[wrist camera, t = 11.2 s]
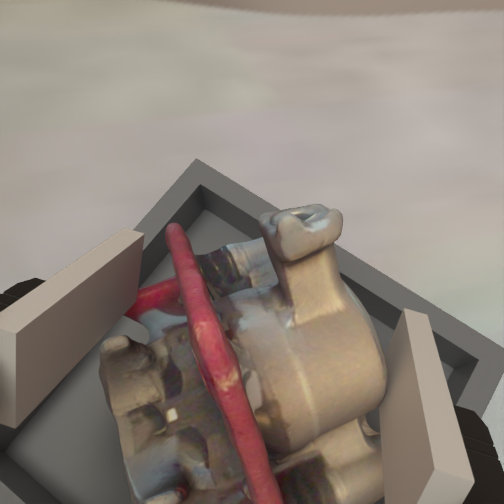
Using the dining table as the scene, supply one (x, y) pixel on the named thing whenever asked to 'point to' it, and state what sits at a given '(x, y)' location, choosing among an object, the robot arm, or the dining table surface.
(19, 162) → the dining table surface
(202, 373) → the brake caliper
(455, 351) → the parts tray
